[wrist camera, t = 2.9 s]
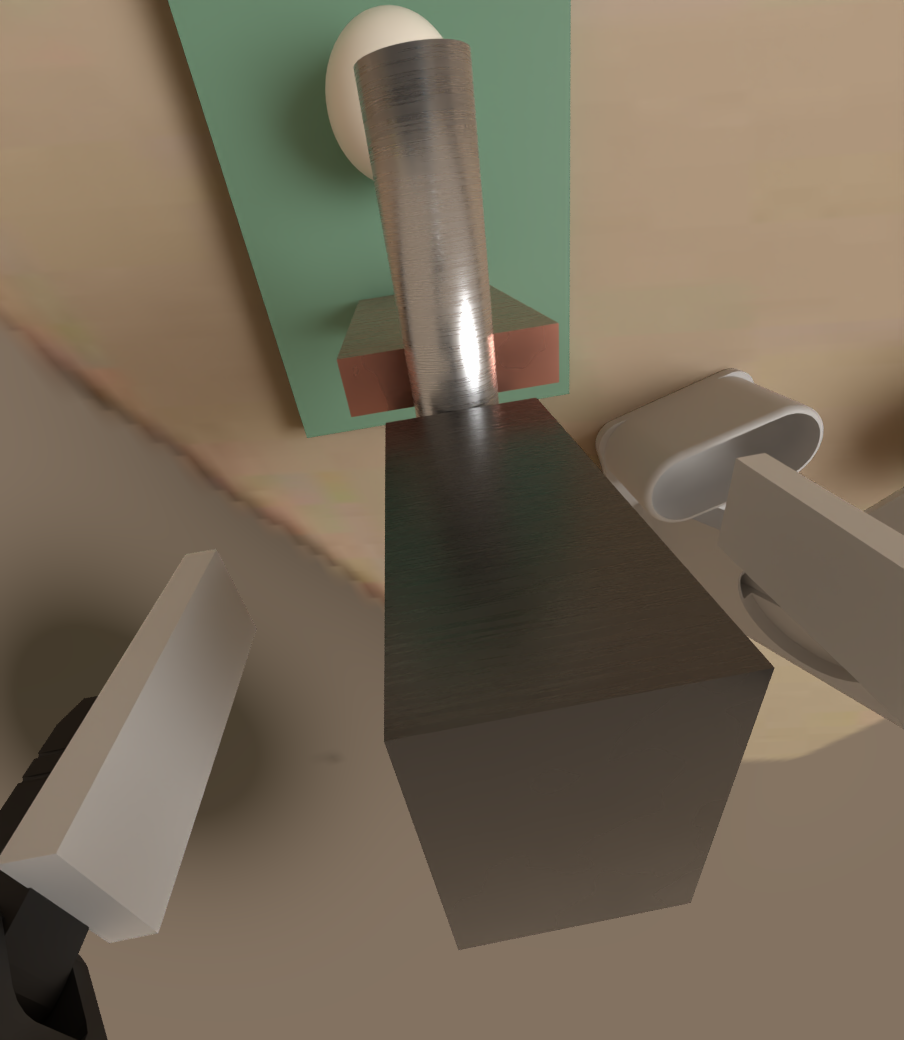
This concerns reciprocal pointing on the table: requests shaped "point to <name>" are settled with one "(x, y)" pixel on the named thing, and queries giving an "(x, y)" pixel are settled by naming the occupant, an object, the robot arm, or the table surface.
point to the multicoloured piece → (521, 575)
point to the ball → (340, 86)
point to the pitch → (351, 195)
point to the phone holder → (724, 496)
